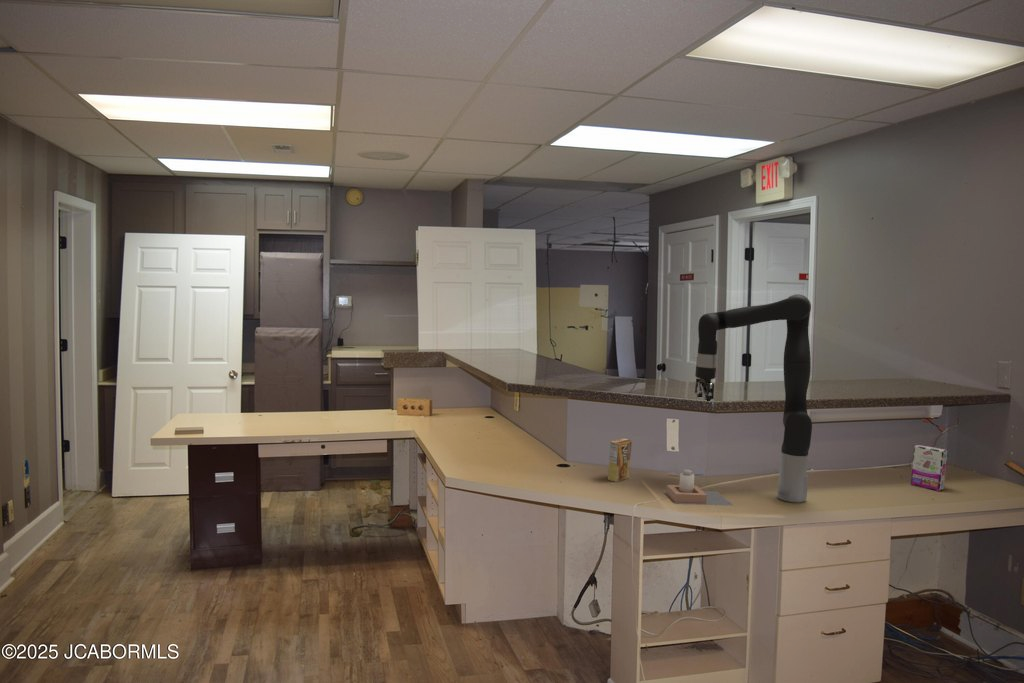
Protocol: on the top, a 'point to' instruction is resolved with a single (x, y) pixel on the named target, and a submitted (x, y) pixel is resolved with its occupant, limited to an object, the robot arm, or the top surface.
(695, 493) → the holder
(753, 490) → the top surface
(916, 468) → the candy bar box
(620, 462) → the candy box
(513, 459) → the top surface
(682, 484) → the connector plug
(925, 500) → the top surface
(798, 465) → the robot arm
